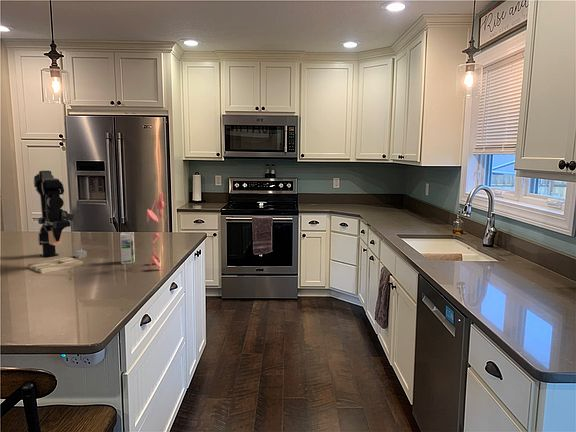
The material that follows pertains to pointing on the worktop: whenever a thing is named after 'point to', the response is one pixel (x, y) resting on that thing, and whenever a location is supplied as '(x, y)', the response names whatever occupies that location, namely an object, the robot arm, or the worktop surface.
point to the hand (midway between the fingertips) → (55, 240)
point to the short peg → (80, 253)
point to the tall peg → (53, 240)
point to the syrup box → (127, 248)
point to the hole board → (51, 264)
